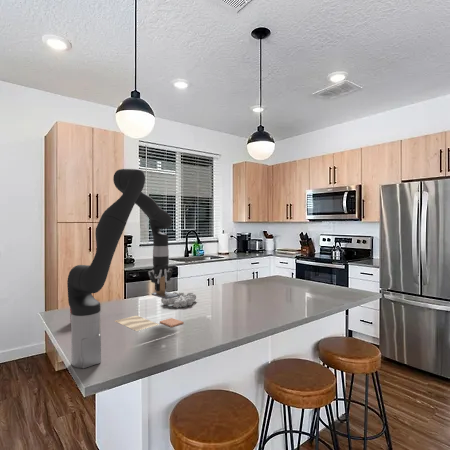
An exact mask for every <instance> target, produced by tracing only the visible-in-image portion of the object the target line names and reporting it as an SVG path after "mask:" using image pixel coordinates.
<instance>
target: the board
mask: <svg viewBox="0 0 450 450" xmlns="http://www.w3.org/2000/svg"><path fill="white" fill-rule="evenodd" d="M114 322H115V323H116V324H120V325H122V326H123V327H127V328H129V329H131V330H133V331H134V332H135V331H136V332H139V331H141V330H146V329H150V328H153V327H156V326H159V325H160V324H161V323H160V324H159V323H158V322H157V323H156V322H154V321H152V320H149V319H147V318H144V317H142V316H140V315H133V316H129V317H124V318H120V319H117V320H114Z"/></svg>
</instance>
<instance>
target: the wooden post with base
mask: <svg viewBox="0 0 450 450" xmlns="http://www.w3.org/2000/svg"><path fill="white" fill-rule="evenodd" d="M157 277H158V276H157ZM155 291H156V290H155ZM173 293H174V292H169V291H166V290H165V277H164V276H161V279H160V282H159V291H156V292H152V293H151V296H154V297H158V298H161V299H162V298H164V299H169V298H174V297H179V295H177V294H173Z"/></svg>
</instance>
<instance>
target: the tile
mask: <svg viewBox="0 0 450 450" xmlns="http://www.w3.org/2000/svg"><path fill="white" fill-rule="evenodd" d="M159 323H160V324H162V325H164V326H167V327H170V328H173V327H177V326H180V325H183V324H184V321H183V320H182V321H181V320H180V319H176V318H173V317H170V318H166V319H163V320H161V321H159Z"/></svg>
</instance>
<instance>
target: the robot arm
mask: <svg viewBox="0 0 450 450" xmlns="http://www.w3.org/2000/svg"><path fill="white" fill-rule="evenodd" d="M112 181H113V184H114V186H115V188H116V189H117V191H119V192H120V193H122V194H121V195H120V196H119V198H118V199H117V200H115V201H114V202H113V203H112V204H111V205H109V207H108V208H106V210H104V211H103V213H102V214H101V217H100V218H99V221H98V223H97V226H96V228H95V240H96V241H95V244H96V252H95V254H94V256H93V259H92V261H91V263H90V265H87V264H77V265H75V266H73V267H72V268H71V269H70V271H69V273H68V275H67V276H68V277H67V297H68V298H67V302H68V305H69V309H70V308H71V321H70V323H71V324H70V326H71V336H70V339H71V340H70V341H71V345H70V346H71V347H70V348H71V349H70V350H71V365H72V367H74V368H79V369H80V368H81V369H86V368H89V367H92V366H95V365H98V364H101V363H102V336H101V332H102V331H101V329H102V328H101V320H102V319H101V316H102V315H101V312H102V311H101V307H102V306H101V303H100V301H99V300H97V299H96V298H95V296H93V294H96V293H99V292H100V291H101V290H102V289H103V287H104V285H105V283H106V280H107V278H108V275H109V272H110V271H109V270H110V267H111V264H112V261H113V258H114V255H115V253H116V250H117V247H118V245H119V242H120V239H121V237H122V235H123V232H124V231H125V228H126V225H127V222H128V219H129V217H130V215H131V213H132V210H133V209H134V206H135V205H136V206H137V207H138V208H140V210H141V211H142V212H143V213H144V214H145V216H146V217H147V218H148V219H149V226H150V227H149V228H150V229H151V233H152V237H153V241H152V242H153V244H152V245H153V246H152V247H153V248H152V265H153V267H152V270H149V271H147V274H148V275H147V276H148V277H149V280H150V282H151V283H153V284H154V289H155V291H159V282H160V279H161V276H164V277H165V291H166V289H167V283H168V282H169V281H171V277H172V275H173V272H174V269H173V268H170V267H169V260H170V259H169V258H170V257H169V256H170V255H169V235H168V234H167V233H164V232H161V229H162V230H163V229H164V230H165V229H166V230H167V229H170V227H172V223H173V219H172V216H171V215H170V214H169V213H168V212H167V211H165V210H164V209H162V208H161V207H160V206H159V204H157V202H156V201H155V200H154V199H153V198H152V197H151V196H149V195H147V194H146V193H145V192H143V189H144V187H145V184H146V183H145V182H146V175H145V173H144V171H142V170H141V169H139V168H120V169H117V170H116V171H115V172H114V174H113V178H112ZM157 276H158V277H157Z"/></svg>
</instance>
